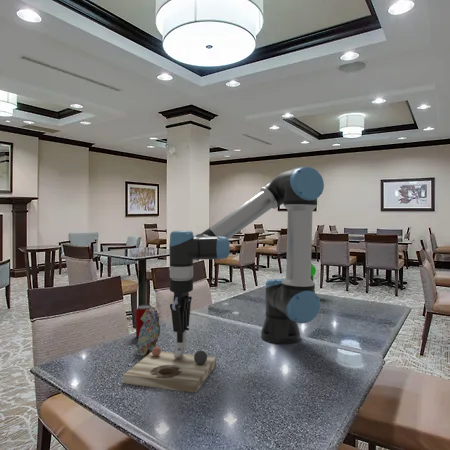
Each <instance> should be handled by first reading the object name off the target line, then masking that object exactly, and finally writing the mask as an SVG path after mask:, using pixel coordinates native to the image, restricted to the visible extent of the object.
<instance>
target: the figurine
mask: <svg viewBox="0 0 450 450" xmlns="http://www.w3.org/2000/svg"><path fill="white" fill-rule="evenodd" d="M141 320H142V321H143V322H144V324H143V325H142V327H141V330H140V334H139V337H138V339H137V343H136V349H135V355H137V356H141V357H142V356H143V357H146V356H147V355H148V354H150V353H151V352H152V349H153V348H154V347H155V346H157V342H158V341H159V337H160V333H161V325H160V315H159V313H158V311H156V308H155V307H153V306H152V308H150V309H149V310H146V311H145V312H144V314H143V316H142V317H141Z"/></svg>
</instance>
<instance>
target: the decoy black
mask: <svg viewBox="0 0 450 450" xmlns="http://www.w3.org/2000/svg"><path fill="white" fill-rule="evenodd" d="M193 355H194V360H195V362H196V363H197V364H199V365H202V364H204V363H205V362H206V361H207V356H208V354H207V353H206V352H205V351H203V350H198V351H196V352H195V353H194V354H193Z"/></svg>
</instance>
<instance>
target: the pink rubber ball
mask: <svg viewBox="0 0 450 450" xmlns="http://www.w3.org/2000/svg"><path fill="white" fill-rule="evenodd" d="M161 351H162V349H161V347H160V346H158V345H156V346H155V347H154V348H153V349H152V354H153V355H154V356H158V355H160V353H161Z"/></svg>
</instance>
